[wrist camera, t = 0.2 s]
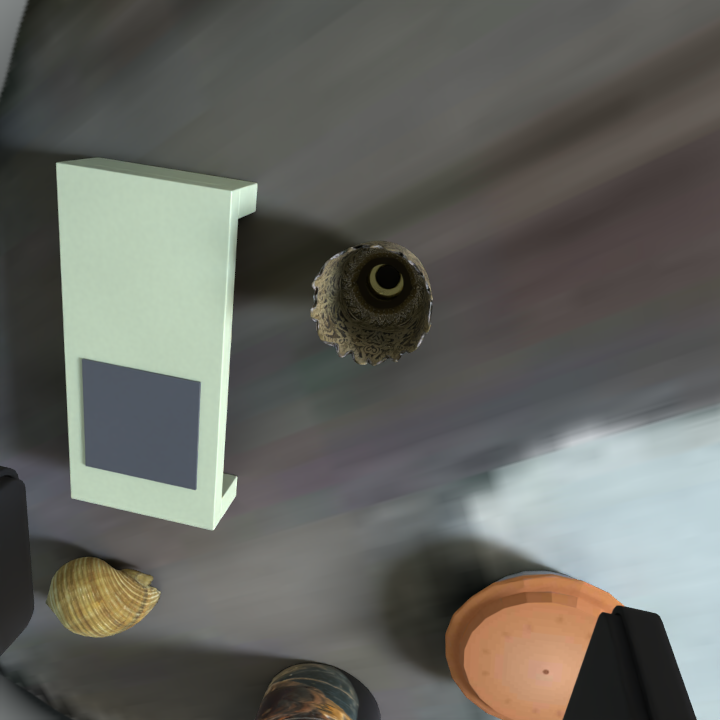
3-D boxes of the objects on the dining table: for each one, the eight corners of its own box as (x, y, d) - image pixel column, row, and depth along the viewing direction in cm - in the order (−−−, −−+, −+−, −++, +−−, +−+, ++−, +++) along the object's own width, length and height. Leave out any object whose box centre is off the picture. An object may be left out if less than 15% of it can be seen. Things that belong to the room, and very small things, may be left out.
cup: (431, 334, 47) (421, 376, 39) (332, 318, 48) (304, 356, 40) (448, 231, 44) (441, 256, 36) (342, 216, 45) (314, 237, 37)
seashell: (170, 547, 63) (130, 540, 56) (176, 623, 61) (136, 627, 53) (76, 568, 64) (25, 564, 57) (79, 644, 61) (26, 651, 54)
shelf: (97, 157, 46) (53, 162, 42) (257, 182, 45) (230, 191, 40) (104, 466, 56) (69, 499, 51) (236, 495, 55) (212, 532, 50)
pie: (541, 722, 58) (545, 775, 53) (410, 617, 56) (403, 662, 51) (682, 632, 52) (701, 683, 47) (540, 512, 50) (546, 552, 46)
